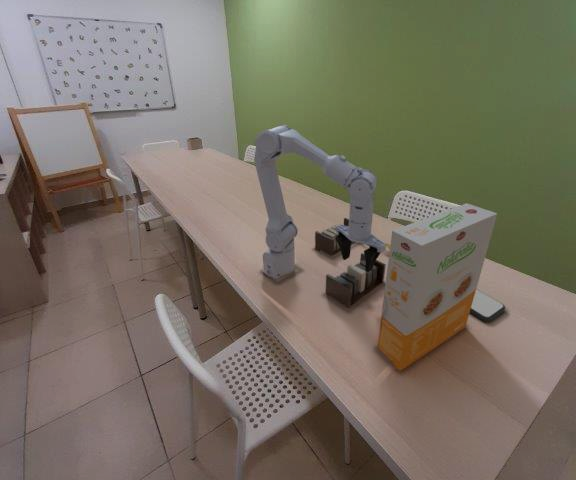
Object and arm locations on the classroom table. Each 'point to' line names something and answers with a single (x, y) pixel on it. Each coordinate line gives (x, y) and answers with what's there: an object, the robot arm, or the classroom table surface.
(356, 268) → the white book
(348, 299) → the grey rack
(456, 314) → the cereal box
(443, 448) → the classroom table surface
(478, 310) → the phone case
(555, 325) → the classroom table surface
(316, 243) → the dark brown rack
